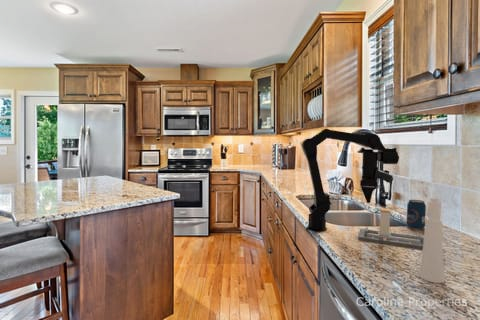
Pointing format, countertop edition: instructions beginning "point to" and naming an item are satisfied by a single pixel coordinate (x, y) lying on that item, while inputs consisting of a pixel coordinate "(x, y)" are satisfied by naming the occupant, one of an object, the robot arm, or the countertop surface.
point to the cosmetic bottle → (433, 245)
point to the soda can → (416, 214)
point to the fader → (384, 222)
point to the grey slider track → (392, 238)
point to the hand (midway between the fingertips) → (368, 200)
